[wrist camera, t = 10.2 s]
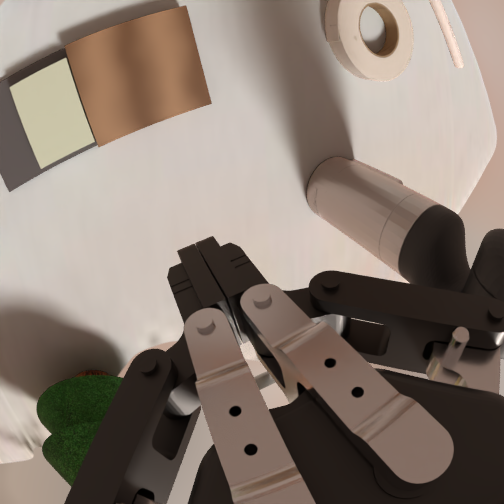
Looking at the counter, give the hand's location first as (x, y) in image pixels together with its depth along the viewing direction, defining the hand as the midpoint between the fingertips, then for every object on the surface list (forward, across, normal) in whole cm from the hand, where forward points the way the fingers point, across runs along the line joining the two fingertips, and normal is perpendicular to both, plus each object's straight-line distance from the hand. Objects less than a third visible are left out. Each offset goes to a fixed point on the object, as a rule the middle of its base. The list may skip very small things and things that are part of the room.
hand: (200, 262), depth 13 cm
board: (+24, -2, -7) cm, 25 cm away
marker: (+26, -53, -10) cm, 60 cm away
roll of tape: (+25, -33, -8) cm, 42 cm away
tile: (+23, +7, -7) cm, 25 cm away
